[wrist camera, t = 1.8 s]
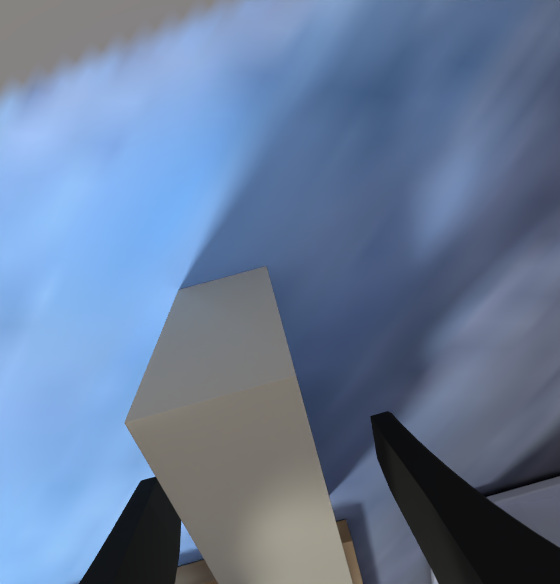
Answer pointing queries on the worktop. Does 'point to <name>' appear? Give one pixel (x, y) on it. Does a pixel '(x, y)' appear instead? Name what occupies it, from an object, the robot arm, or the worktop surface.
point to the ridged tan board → (199, 580)
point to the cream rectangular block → (237, 438)
